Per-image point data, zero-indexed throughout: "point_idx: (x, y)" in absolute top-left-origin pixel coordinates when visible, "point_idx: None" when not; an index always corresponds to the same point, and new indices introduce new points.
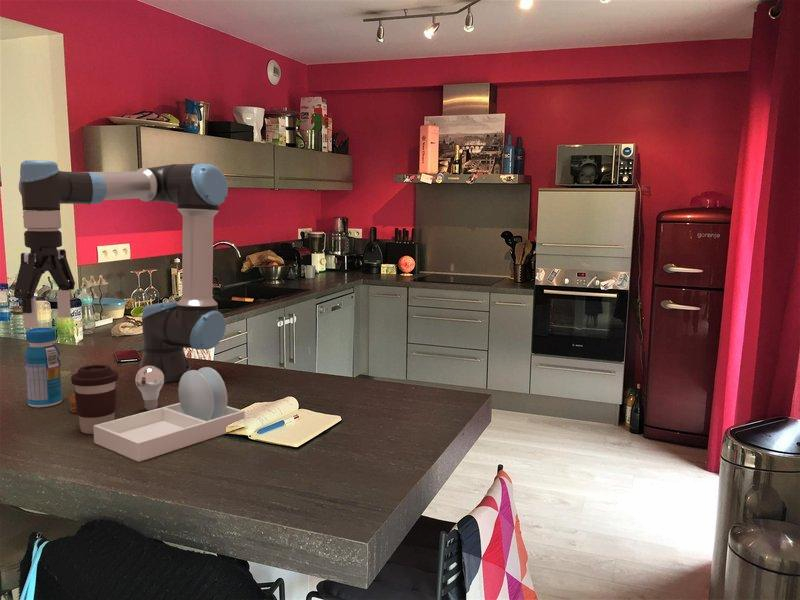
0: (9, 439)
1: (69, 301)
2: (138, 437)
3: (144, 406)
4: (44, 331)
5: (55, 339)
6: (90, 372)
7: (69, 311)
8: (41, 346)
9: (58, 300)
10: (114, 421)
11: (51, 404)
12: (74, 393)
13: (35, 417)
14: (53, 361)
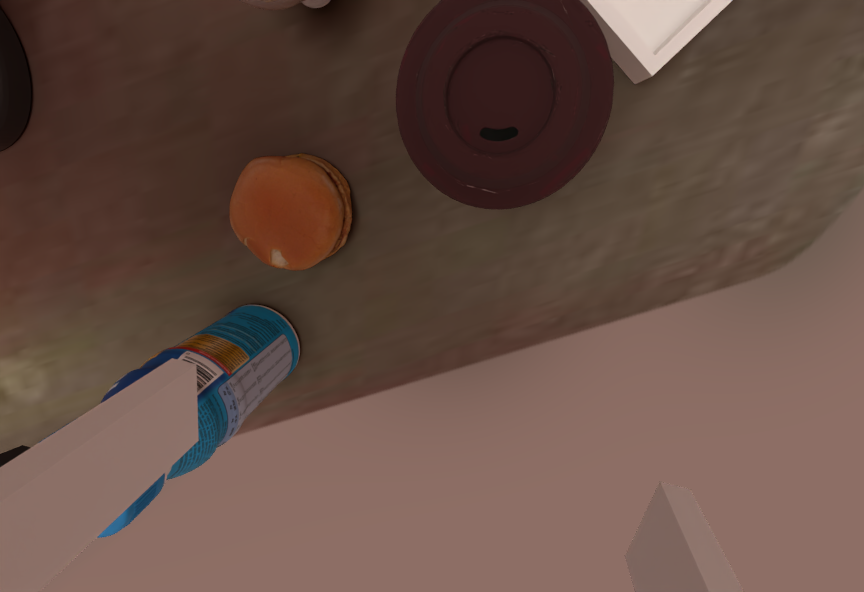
0: (552, 333)
1: (47, 447)
2: None
3: (325, 2)
4: None
5: None
6: (581, 91)
7: (150, 388)
8: None
9: (71, 550)
10: (614, 7)
11: (285, 319)
12: (275, 263)
13: (378, 328)
14: None
